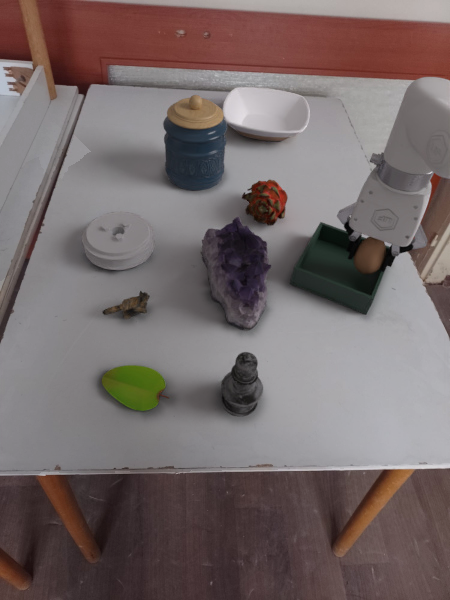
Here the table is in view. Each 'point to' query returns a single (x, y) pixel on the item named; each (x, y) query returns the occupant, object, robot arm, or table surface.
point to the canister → (194, 143)
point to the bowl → (266, 113)
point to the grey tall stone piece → (242, 386)
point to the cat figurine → (130, 306)
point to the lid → (118, 240)
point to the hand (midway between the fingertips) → (368, 259)
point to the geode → (237, 272)
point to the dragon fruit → (266, 202)
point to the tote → (335, 270)
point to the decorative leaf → (135, 386)
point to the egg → (369, 255)
